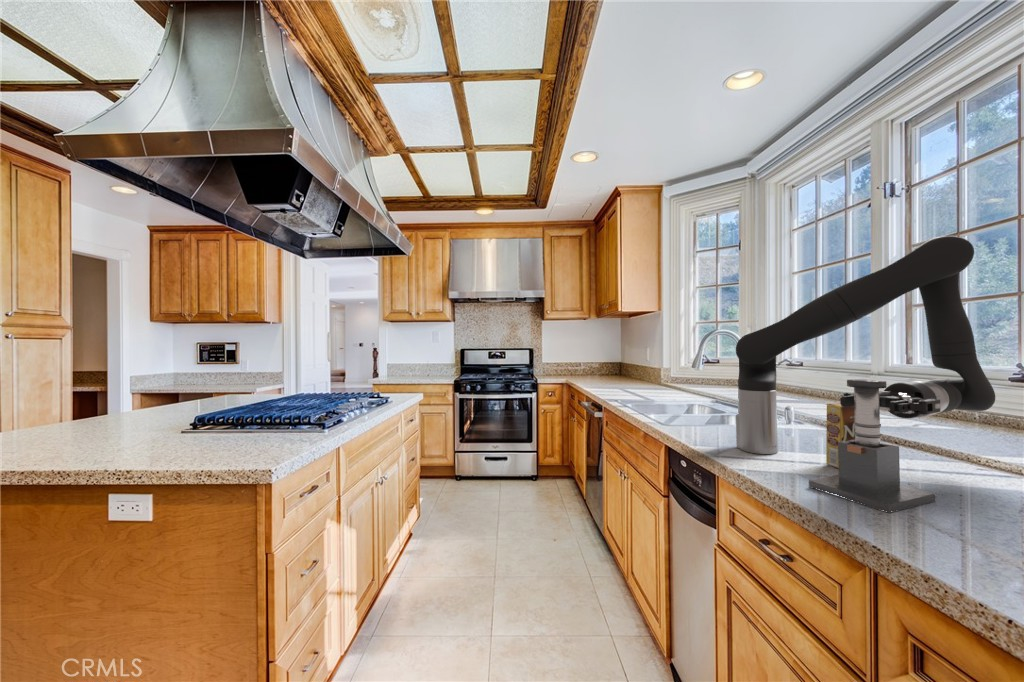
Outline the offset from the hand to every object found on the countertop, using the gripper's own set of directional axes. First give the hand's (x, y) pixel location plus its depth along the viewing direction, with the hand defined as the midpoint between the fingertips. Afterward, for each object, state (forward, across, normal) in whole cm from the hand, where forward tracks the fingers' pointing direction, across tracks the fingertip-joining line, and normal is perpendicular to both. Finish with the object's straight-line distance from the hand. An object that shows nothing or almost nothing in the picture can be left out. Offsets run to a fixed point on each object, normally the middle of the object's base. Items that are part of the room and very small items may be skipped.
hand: (866, 404), depth 82 cm
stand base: (0, 0, +18) cm, 18 cm away
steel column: (0, 0, +16) cm, 16 cm away
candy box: (-16, -13, +18) cm, 28 cm away
